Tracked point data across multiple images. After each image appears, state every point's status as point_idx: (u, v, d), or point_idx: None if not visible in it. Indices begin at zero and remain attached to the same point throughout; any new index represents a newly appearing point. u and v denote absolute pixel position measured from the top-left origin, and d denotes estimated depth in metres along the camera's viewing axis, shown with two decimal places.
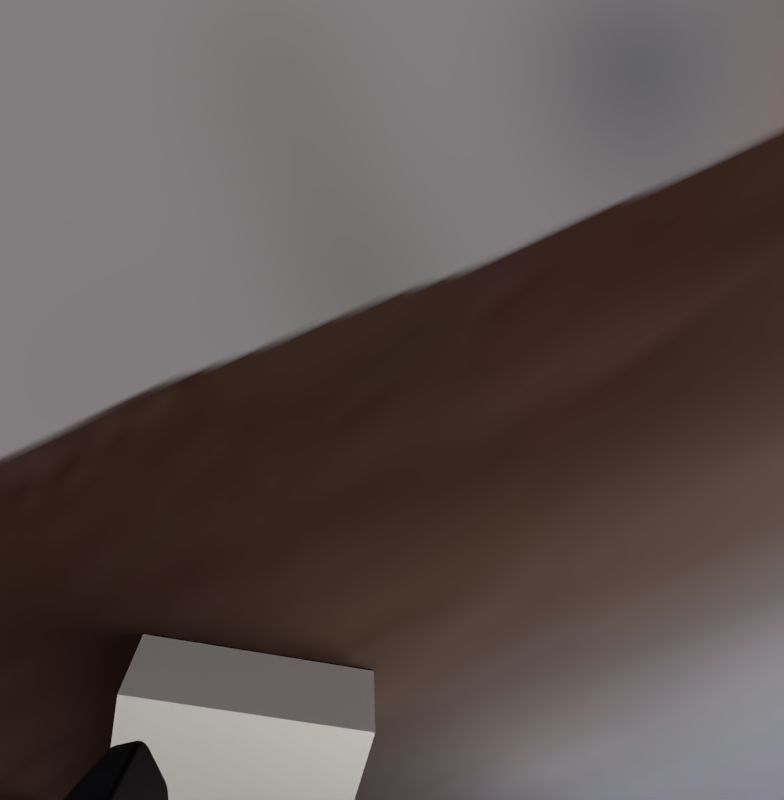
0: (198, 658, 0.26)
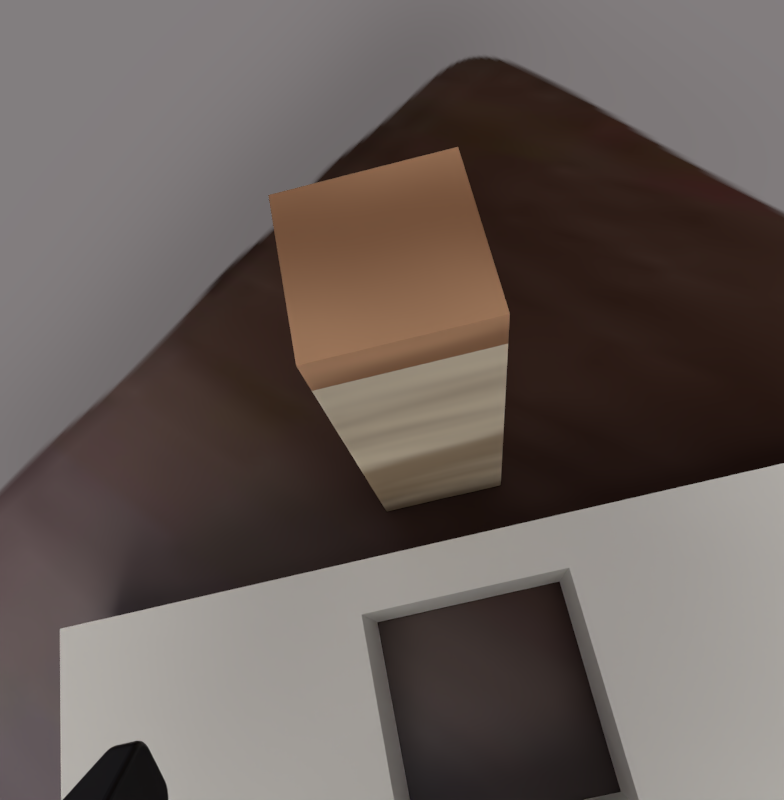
0: None
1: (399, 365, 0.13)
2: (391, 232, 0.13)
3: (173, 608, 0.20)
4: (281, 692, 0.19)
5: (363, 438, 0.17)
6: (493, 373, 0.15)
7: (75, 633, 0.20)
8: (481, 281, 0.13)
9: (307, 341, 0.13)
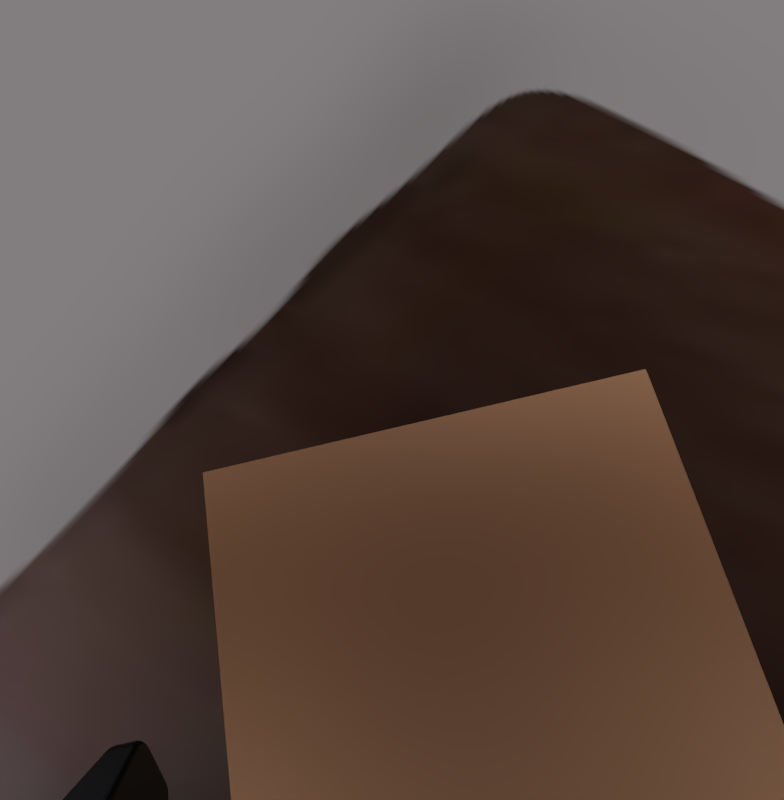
0: None
1: None
2: (499, 606, 0.05)
3: None
4: None
5: None
6: None
7: None
8: (759, 792, 0.05)
9: None
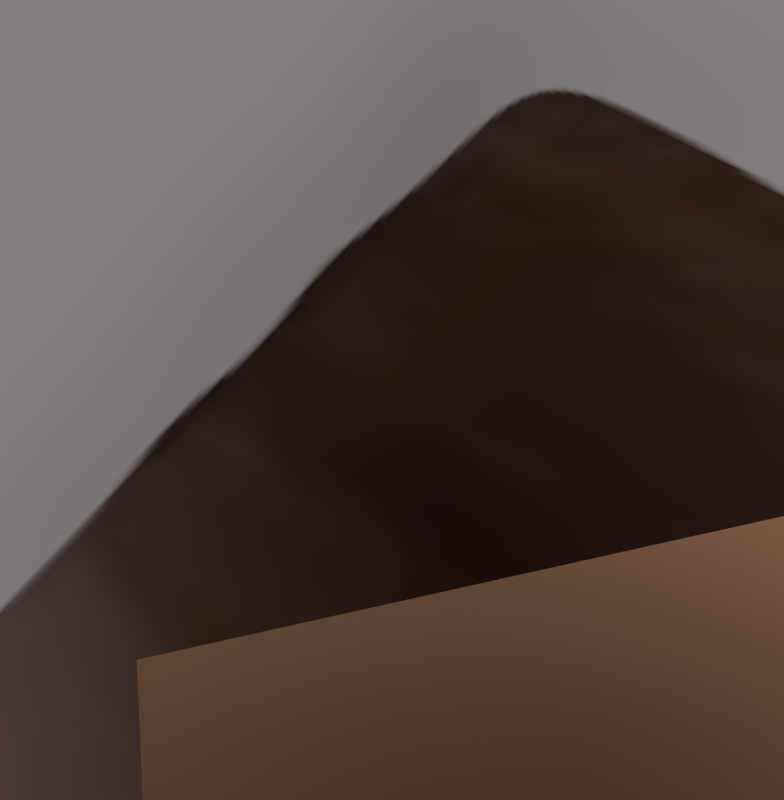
0: None
1: None
2: None
3: None
4: None
5: None
6: None
7: None
8: None
9: None
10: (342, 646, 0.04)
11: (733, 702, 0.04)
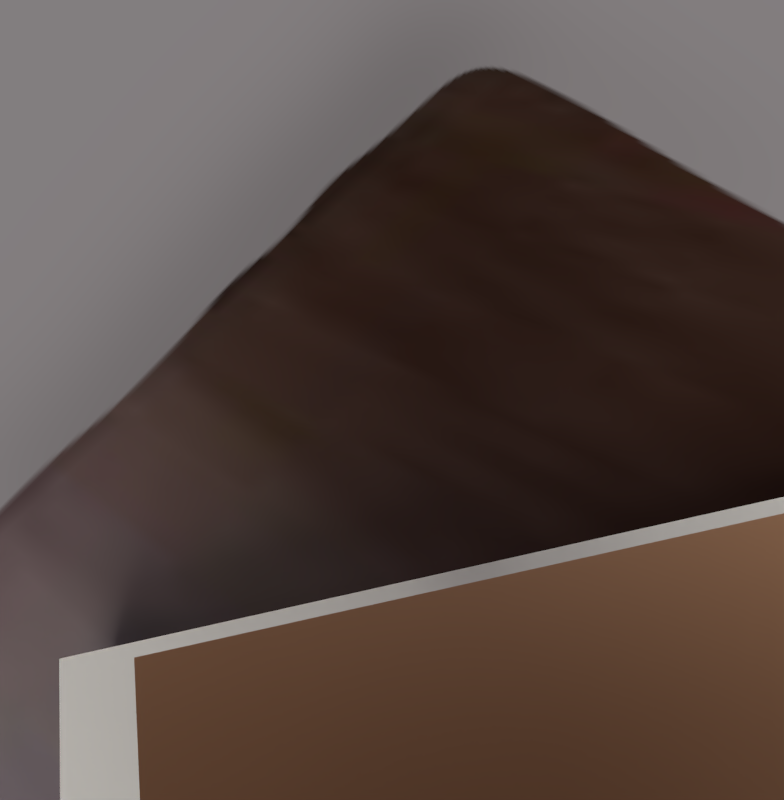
0: None
1: None
2: None
3: (175, 638, 0.20)
4: None
5: None
6: None
7: (75, 663, 0.20)
8: None
9: None
10: (340, 643, 0.04)
11: (733, 700, 0.04)
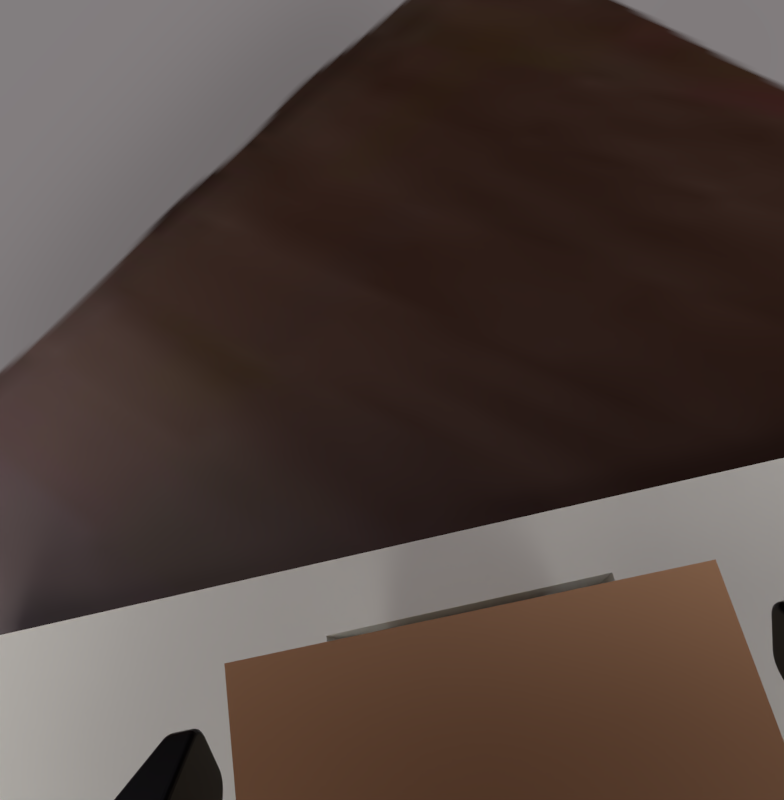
0: None
1: None
2: None
3: (73, 626, 0.15)
4: (213, 744, 0.14)
5: None
6: None
7: None
8: None
9: None
10: (382, 654, 0.05)
11: (672, 699, 0.05)
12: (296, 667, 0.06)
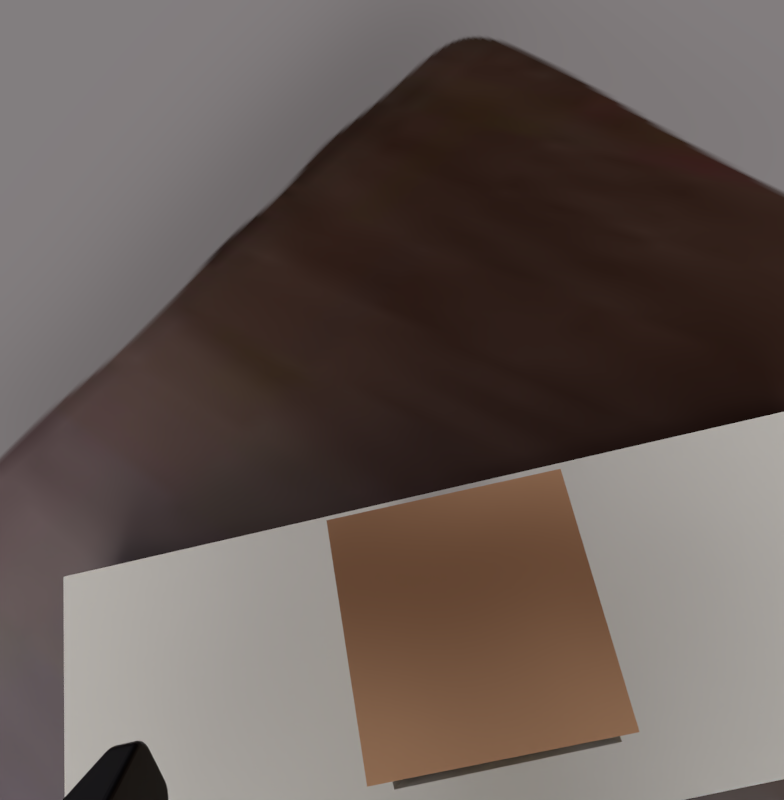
0: None
1: None
2: (482, 591, 0.11)
3: (173, 557, 0.21)
4: (276, 634, 0.20)
5: None
6: None
7: (78, 581, 0.21)
8: (600, 677, 0.10)
9: (380, 749, 0.10)
10: (402, 514, 0.11)
11: (536, 529, 0.11)
12: (361, 521, 0.12)
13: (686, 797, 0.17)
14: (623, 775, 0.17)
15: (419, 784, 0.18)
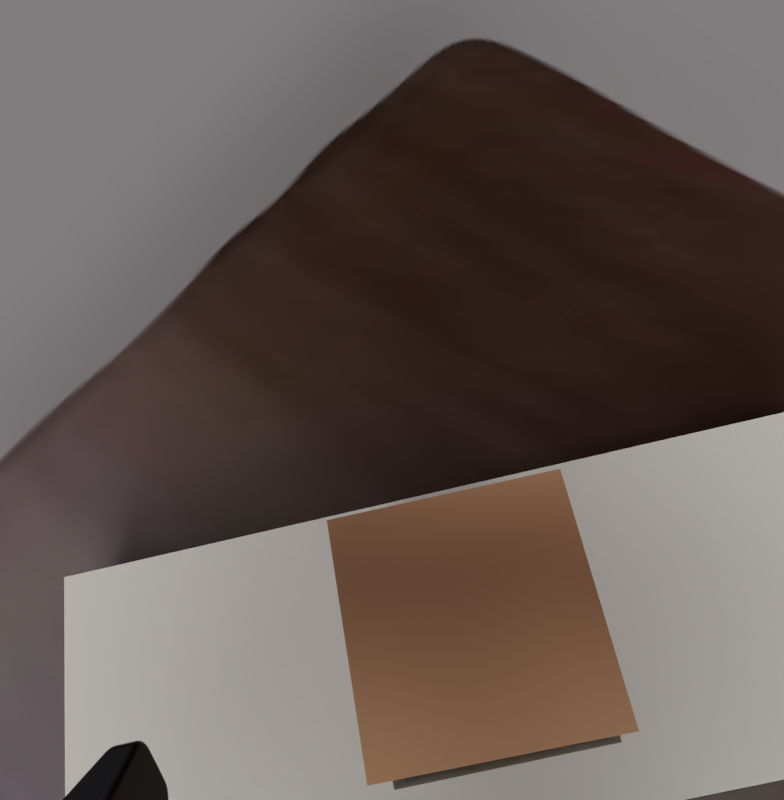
0: None
1: None
2: (482, 591, 0.11)
3: (173, 557, 0.21)
4: (277, 634, 0.20)
5: None
6: None
7: (79, 581, 0.21)
8: (600, 676, 0.10)
9: (380, 749, 0.10)
10: (402, 514, 0.11)
11: (535, 529, 0.11)
12: (361, 520, 0.12)
13: (686, 797, 0.17)
14: (623, 775, 0.17)
15: (419, 784, 0.18)
